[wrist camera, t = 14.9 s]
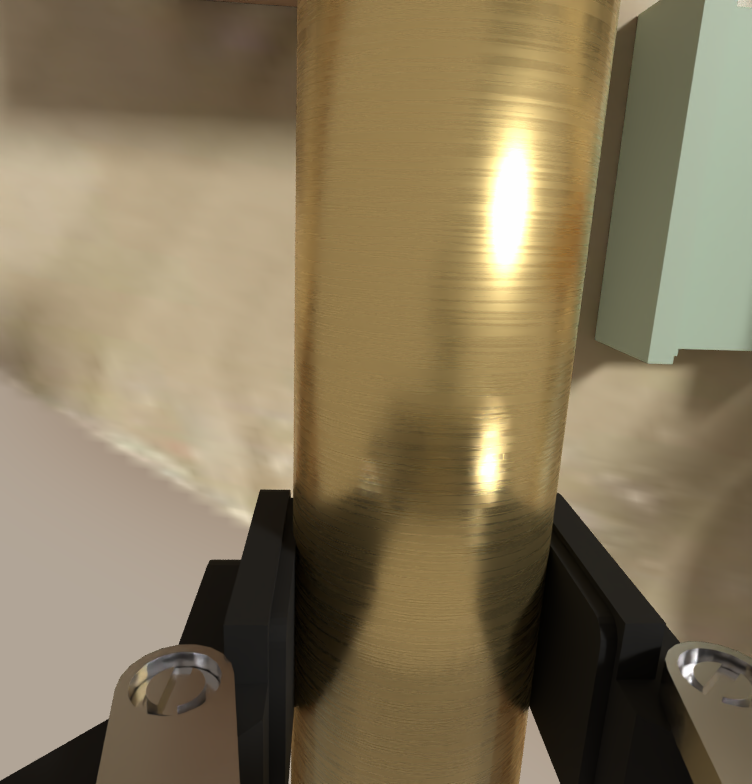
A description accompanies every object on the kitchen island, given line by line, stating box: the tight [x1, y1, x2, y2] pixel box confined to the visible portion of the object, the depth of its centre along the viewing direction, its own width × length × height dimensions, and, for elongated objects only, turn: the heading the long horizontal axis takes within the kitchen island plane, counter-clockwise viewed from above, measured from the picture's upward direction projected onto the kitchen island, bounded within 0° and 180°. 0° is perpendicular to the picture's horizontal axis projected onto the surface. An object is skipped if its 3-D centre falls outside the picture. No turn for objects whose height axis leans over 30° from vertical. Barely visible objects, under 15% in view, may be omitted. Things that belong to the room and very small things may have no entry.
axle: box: [291, 0, 620, 784], centre depth 9 cm, size 16×4×4 cm, turn 178°
